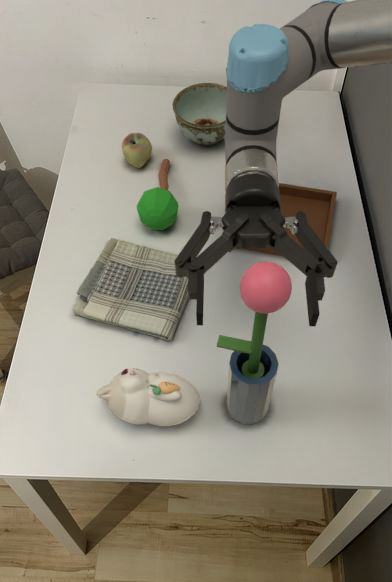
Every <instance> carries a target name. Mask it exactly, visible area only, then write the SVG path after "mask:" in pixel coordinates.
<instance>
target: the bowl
mask: <svg viewBox="0 0 392 582" xmlns="http://www.w3.org/2000/svg"><path fill="white" fill-rule="evenodd" d="M171 104H172V110H173V113H174V117H175V121H176V123H177V126H178V127H179V129H180V131H181V133H182V134H183V135H184V136H185V137H186V138H187V139H189V140H190V141H192V142H194V143H195V144H197V145H199V146H201V147H210V146H213V145H216V144H218V143H219V142H220V141H221V140H224V135H225V125H226V108H227V86H225V85H223V84H220V83H214V82H201V83H195V84H191V85H189V86H187V87H185V88H183V89H182V90H180V91H179V92H178V93H177V94H176V95H175V96H174V98H173V101H172V103H171Z"/></svg>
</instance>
